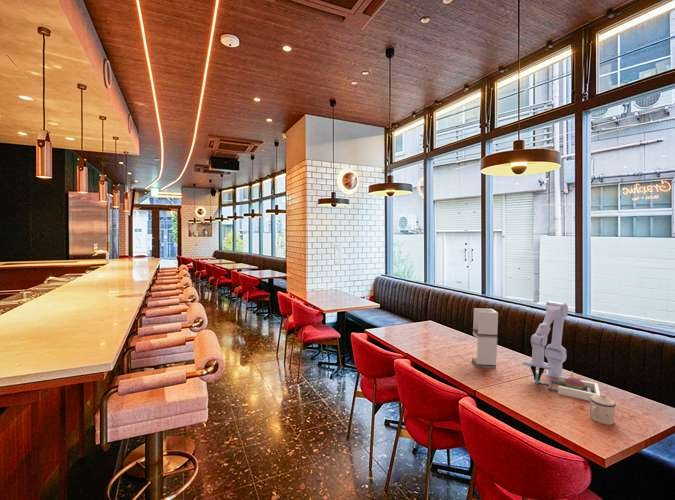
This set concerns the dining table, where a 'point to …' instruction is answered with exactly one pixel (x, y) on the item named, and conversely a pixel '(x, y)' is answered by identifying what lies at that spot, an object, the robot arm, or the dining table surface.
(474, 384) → the dining table surface
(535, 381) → the frame with teal handle
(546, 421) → the dining table surface
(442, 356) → the dining table surface
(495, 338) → the light grey tall block
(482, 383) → the dining table surface
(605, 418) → the teacup with lid
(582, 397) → the white rectangular tray
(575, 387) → the cupcake
